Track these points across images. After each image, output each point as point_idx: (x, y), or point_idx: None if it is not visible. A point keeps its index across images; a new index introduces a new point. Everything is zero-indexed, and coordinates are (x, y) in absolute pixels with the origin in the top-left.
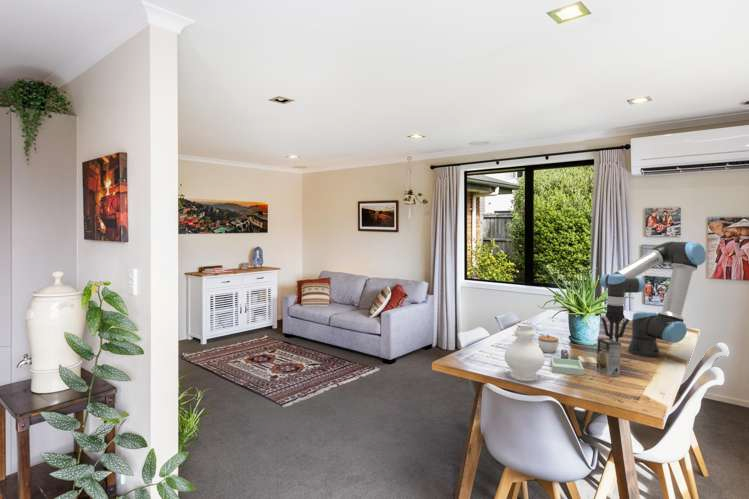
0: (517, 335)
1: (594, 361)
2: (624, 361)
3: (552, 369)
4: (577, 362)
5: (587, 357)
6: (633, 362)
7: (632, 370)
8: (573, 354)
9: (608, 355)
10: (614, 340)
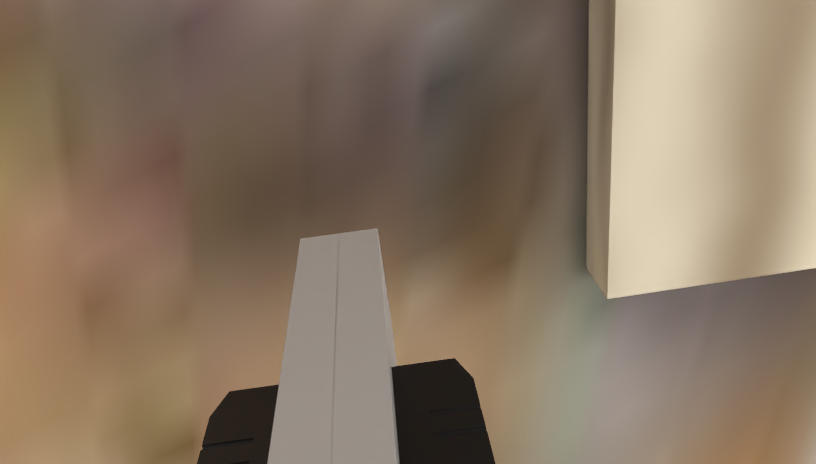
0: None
1: (657, 54)
2: (187, 435)
3: None
4: None
5: (715, 252)
6: (73, 443)
7: (29, 20)
8: (787, 441)
9: None
10: (319, 446)
